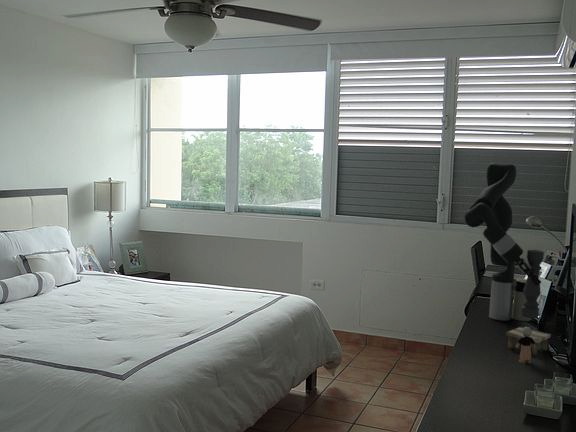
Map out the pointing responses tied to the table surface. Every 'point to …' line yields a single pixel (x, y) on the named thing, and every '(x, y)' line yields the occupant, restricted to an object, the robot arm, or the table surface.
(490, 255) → the robot arm
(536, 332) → the beige toy table
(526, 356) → the grandmother figurine
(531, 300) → the candle holder
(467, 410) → the table surface
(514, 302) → the travel mug
